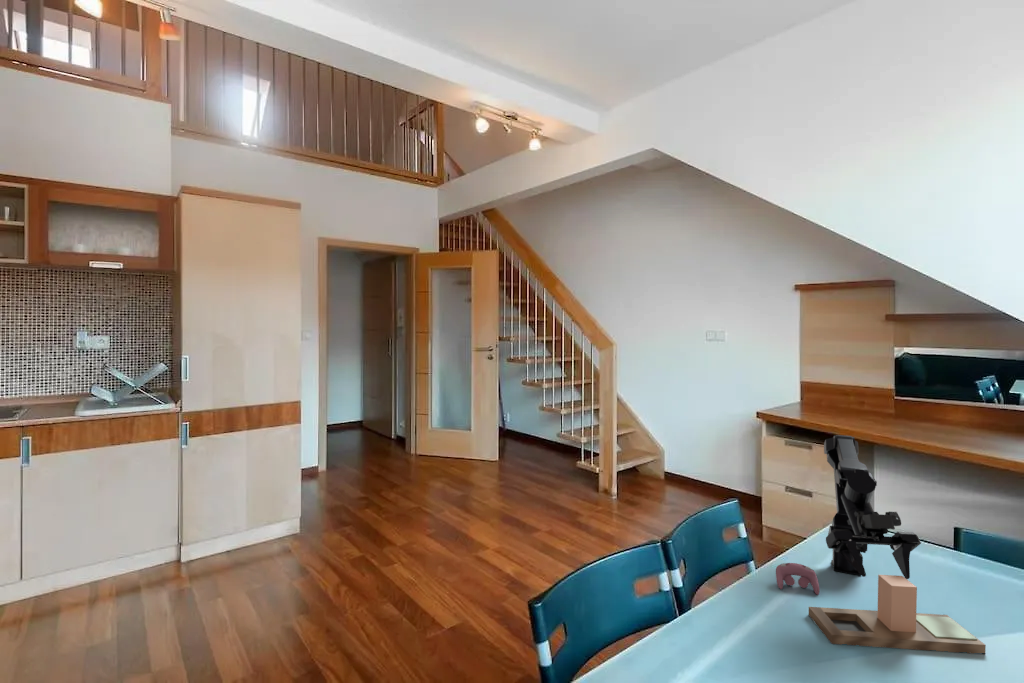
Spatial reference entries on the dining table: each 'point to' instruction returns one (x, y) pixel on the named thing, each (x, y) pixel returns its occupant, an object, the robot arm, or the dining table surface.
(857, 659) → the dining table surface
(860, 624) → the board
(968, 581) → the dining table surface
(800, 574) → the video game controller
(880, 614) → the block
